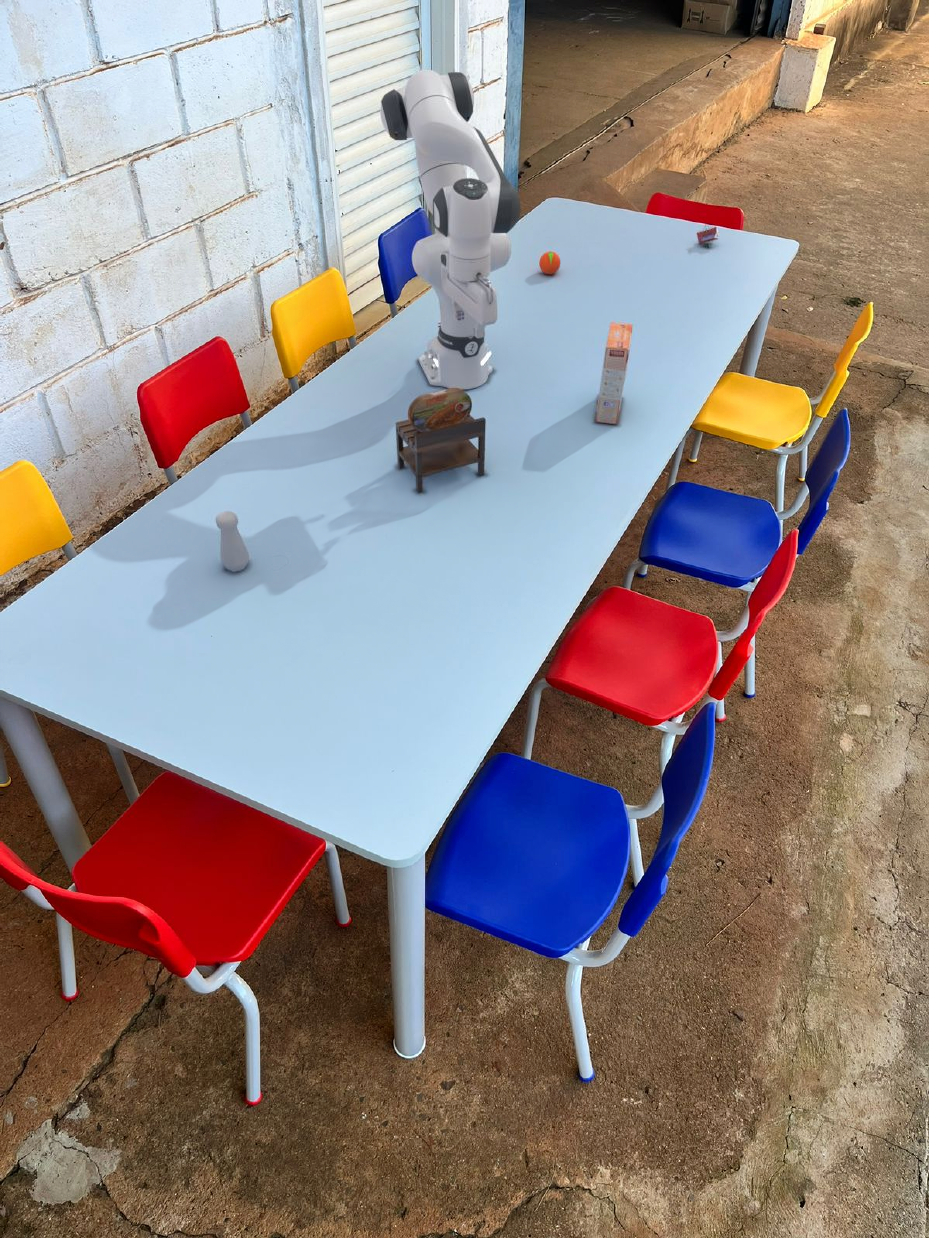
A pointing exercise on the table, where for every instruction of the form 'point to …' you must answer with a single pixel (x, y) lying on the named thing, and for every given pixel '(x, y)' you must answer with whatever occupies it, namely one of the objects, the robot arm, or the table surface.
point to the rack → (440, 448)
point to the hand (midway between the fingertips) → (468, 327)
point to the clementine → (549, 262)
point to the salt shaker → (231, 542)
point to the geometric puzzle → (708, 235)
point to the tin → (439, 409)
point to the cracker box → (614, 372)
